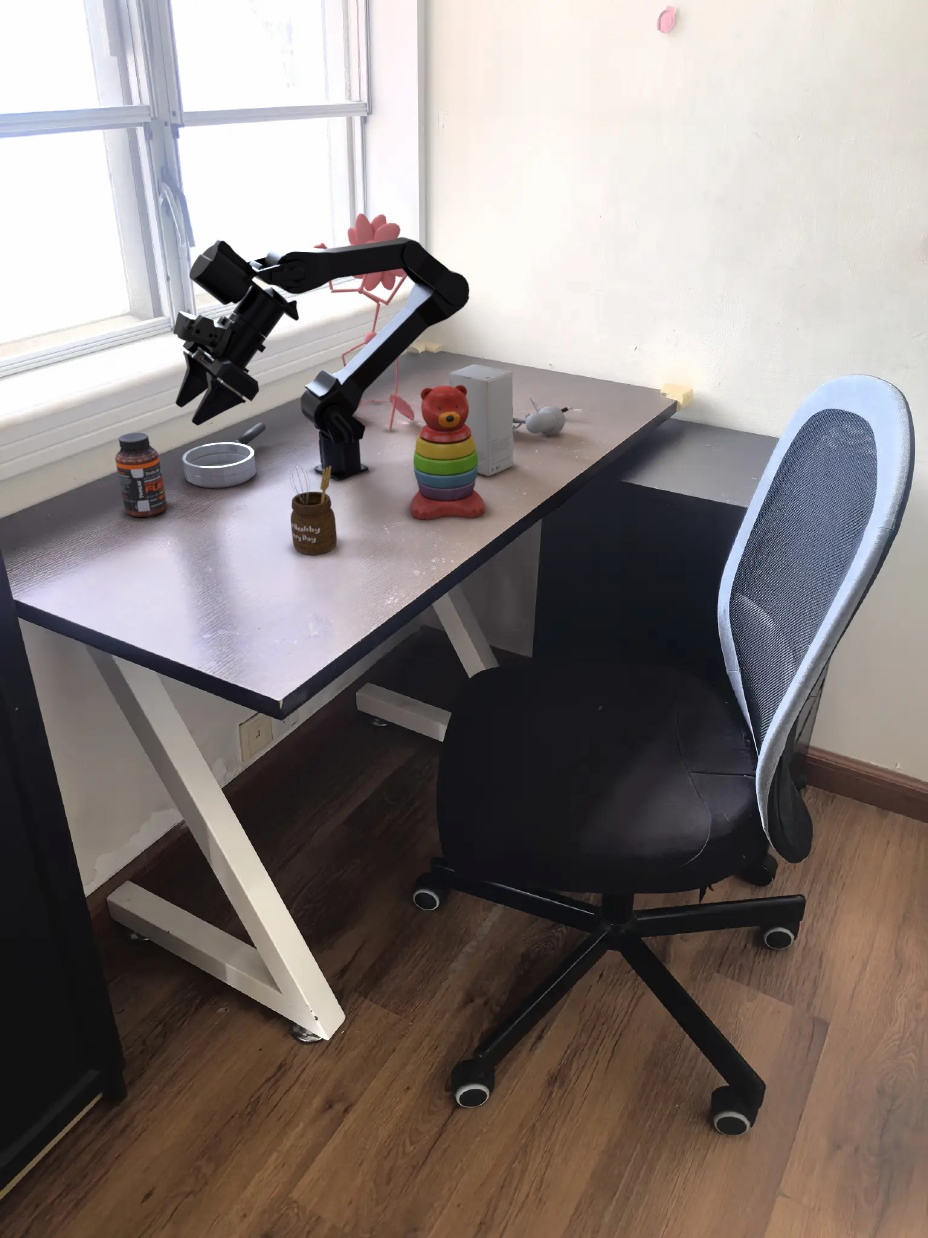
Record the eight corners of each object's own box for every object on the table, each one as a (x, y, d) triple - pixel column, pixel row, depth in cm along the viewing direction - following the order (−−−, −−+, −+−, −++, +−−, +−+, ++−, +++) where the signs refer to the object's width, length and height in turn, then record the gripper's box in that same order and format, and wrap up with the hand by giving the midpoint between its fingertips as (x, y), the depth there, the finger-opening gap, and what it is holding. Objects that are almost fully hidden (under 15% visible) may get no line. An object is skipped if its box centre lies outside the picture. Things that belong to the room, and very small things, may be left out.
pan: (270, 475, 147) (267, 454, 145) (210, 494, 140) (207, 473, 139) (231, 457, 154) (228, 437, 152) (172, 475, 147) (168, 455, 145)
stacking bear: (411, 521, 132) (407, 399, 123) (408, 493, 141) (404, 377, 132) (486, 517, 133) (488, 396, 124) (478, 490, 142) (479, 375, 133)
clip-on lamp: (523, 428, 175) (482, 436, 159) (524, 394, 173) (482, 398, 158) (582, 431, 170) (545, 440, 154) (583, 396, 168) (546, 401, 152)
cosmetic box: (514, 467, 150) (516, 371, 142) (486, 478, 146) (487, 380, 138) (475, 454, 155) (476, 361, 147) (448, 465, 151) (447, 370, 143)
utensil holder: (311, 533, 129) (303, 451, 123) (348, 543, 126) (341, 460, 120) (284, 549, 124) (274, 465, 118) (321, 560, 122) (313, 475, 115)
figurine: (430, 439, 161) (425, 223, 143) (304, 419, 170) (285, 214, 153) (466, 413, 173) (465, 211, 155) (347, 396, 182) (334, 203, 165)
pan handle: (238, 453, 150) (236, 443, 149) (229, 452, 150) (227, 443, 150) (267, 430, 160) (266, 421, 159) (259, 429, 160) (258, 420, 159)
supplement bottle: (155, 520, 133) (141, 445, 127) (118, 517, 134) (102, 442, 128) (175, 503, 138) (162, 430, 132) (138, 500, 139) (124, 428, 133)
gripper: (185, 277, 133) (123, 365, 134) (222, 301, 119) (152, 399, 120) (246, 325, 140) (187, 408, 142) (287, 353, 126) (221, 445, 128)
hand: (186, 414), depth 133 cm, fingers open, 9 cm apart
